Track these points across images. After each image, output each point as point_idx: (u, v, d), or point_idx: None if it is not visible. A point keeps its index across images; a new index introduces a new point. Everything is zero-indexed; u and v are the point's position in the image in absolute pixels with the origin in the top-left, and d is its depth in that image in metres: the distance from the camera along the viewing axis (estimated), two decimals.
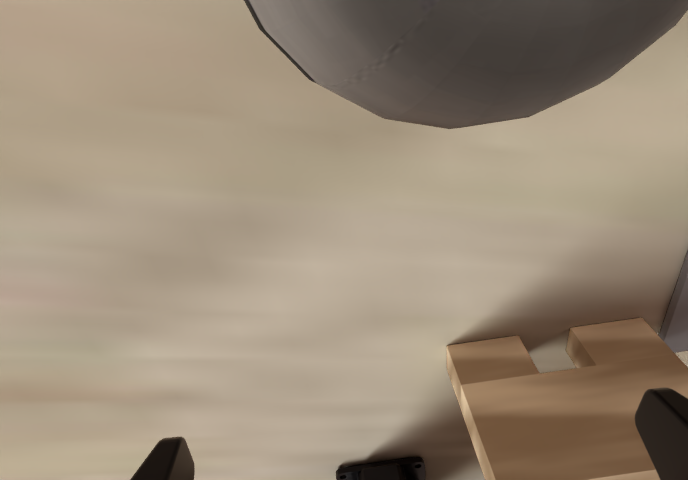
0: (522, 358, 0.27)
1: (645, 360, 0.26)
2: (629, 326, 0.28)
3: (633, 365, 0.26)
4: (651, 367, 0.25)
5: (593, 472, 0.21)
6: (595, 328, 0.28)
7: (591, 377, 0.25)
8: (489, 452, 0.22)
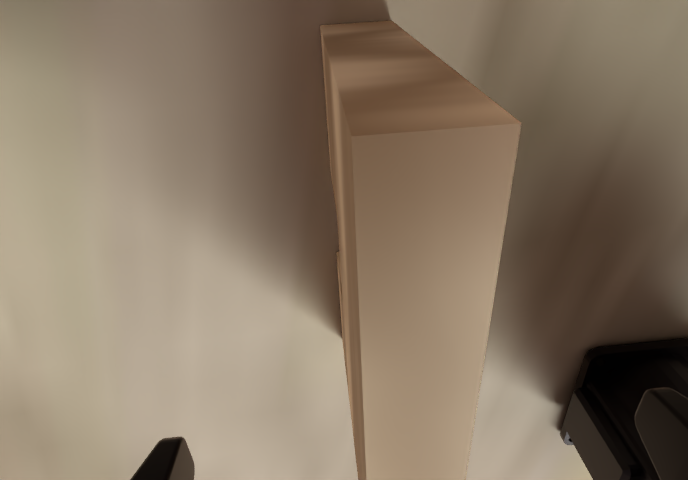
0: (341, 292, 0.16)
1: (330, 124, 0.11)
2: (323, 70, 0.13)
3: (333, 158, 0.12)
4: (332, 129, 0.11)
5: None
6: (328, 134, 0.14)
7: (340, 251, 0.13)
8: None
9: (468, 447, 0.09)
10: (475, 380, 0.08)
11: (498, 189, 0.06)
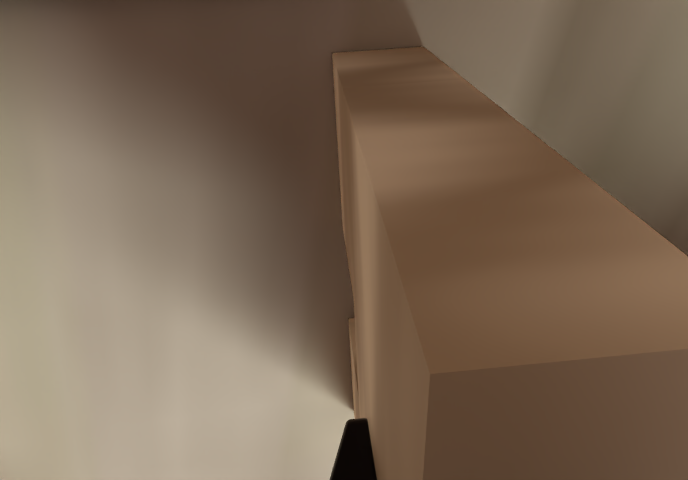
0: (355, 374, 0.13)
1: (348, 190, 0.08)
2: (336, 111, 0.10)
3: (351, 234, 0.09)
4: (351, 202, 0.08)
5: None
6: (340, 186, 0.11)
7: (358, 347, 0.10)
8: None
9: None
10: None
11: None
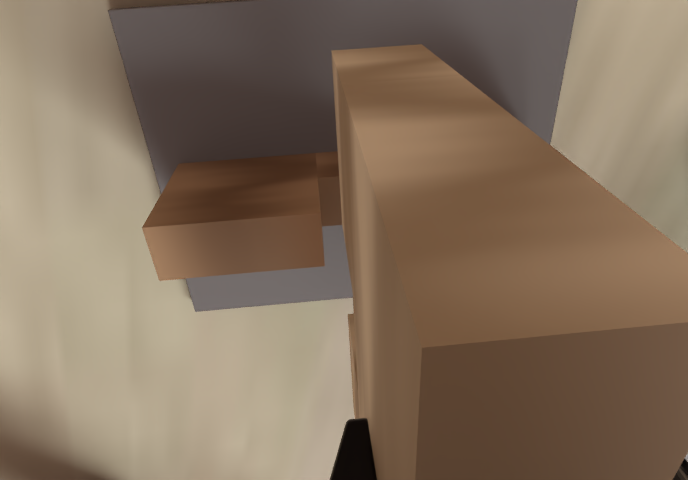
0: (354, 369, 0.13)
1: (347, 185, 0.09)
2: (336, 107, 0.10)
3: (350, 229, 0.09)
4: (350, 196, 0.08)
5: None
6: (340, 182, 0.12)
7: (357, 341, 0.10)
8: None
9: None
10: None
11: None
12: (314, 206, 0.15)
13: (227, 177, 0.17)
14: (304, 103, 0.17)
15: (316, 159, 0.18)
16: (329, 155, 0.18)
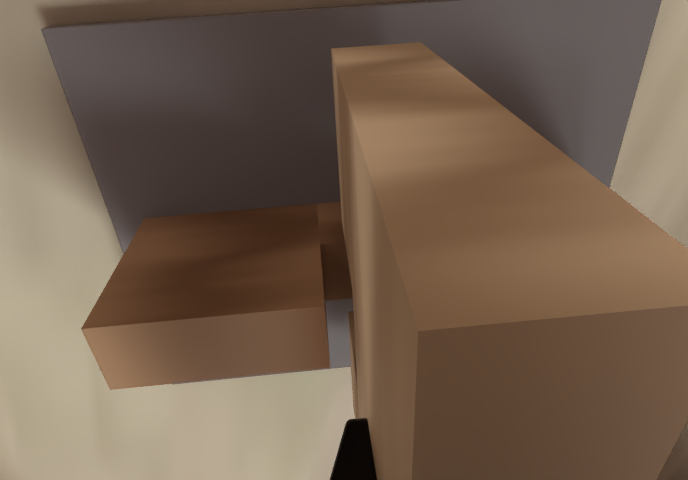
0: (354, 366, 0.13)
1: (346, 181, 0.09)
2: (335, 105, 0.10)
3: (349, 225, 0.09)
4: (349, 192, 0.08)
5: None
6: (339, 179, 0.12)
7: (357, 336, 0.10)
8: None
9: None
10: None
11: (678, 397, 0.03)
12: (317, 294, 0.11)
13: (204, 241, 0.13)
14: (302, 144, 0.14)
15: (318, 214, 0.14)
16: (334, 207, 0.14)
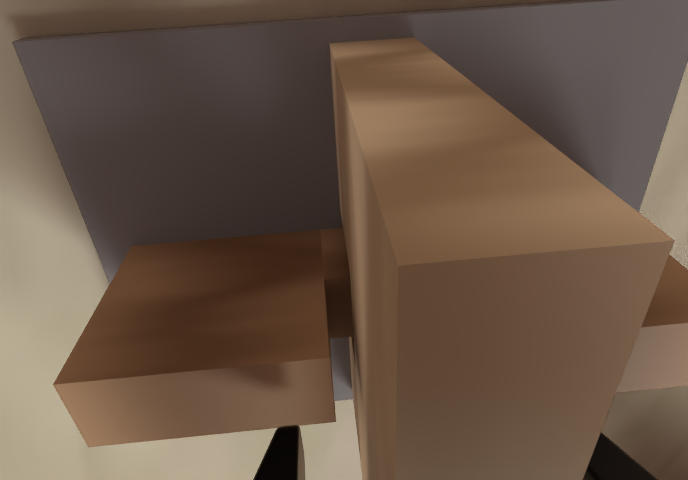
0: (352, 348, 0.14)
1: (344, 168, 0.09)
2: (333, 97, 0.11)
3: (346, 208, 0.09)
4: (346, 176, 0.09)
5: None
6: (338, 168, 0.12)
7: (354, 315, 0.10)
8: None
9: None
10: None
11: (621, 329, 0.04)
12: (321, 342, 0.10)
13: (196, 275, 0.12)
14: (304, 166, 0.12)
15: (321, 242, 0.13)
16: (339, 234, 0.13)
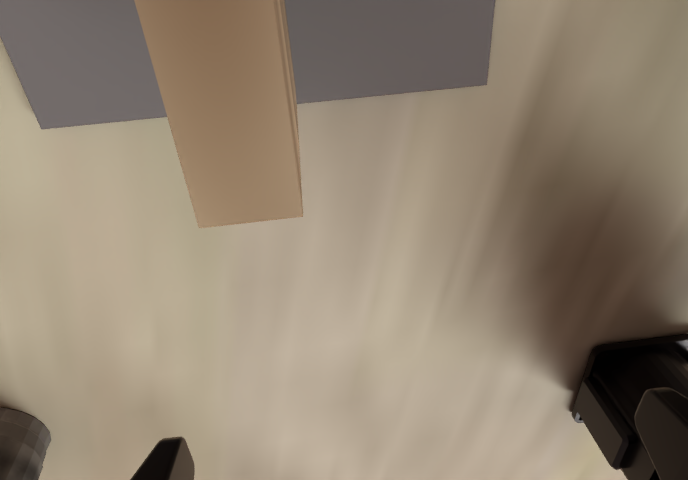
0: None
1: None
2: None
3: None
4: None
5: None
6: None
7: None
8: None
9: None
10: None
11: None
12: None
13: None
14: None
15: None
16: None
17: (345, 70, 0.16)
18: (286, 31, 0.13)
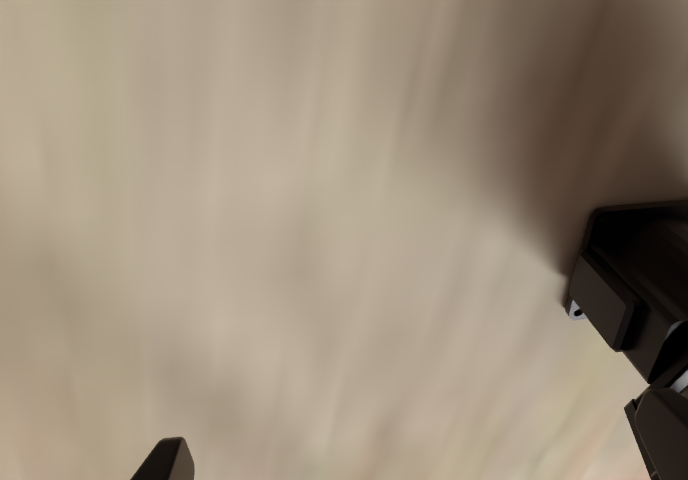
0: None
1: None
2: None
3: None
4: None
5: None
6: None
7: None
8: None
9: None
10: None
11: None
12: None
13: None
14: None
15: None
16: None
17: None
18: None
